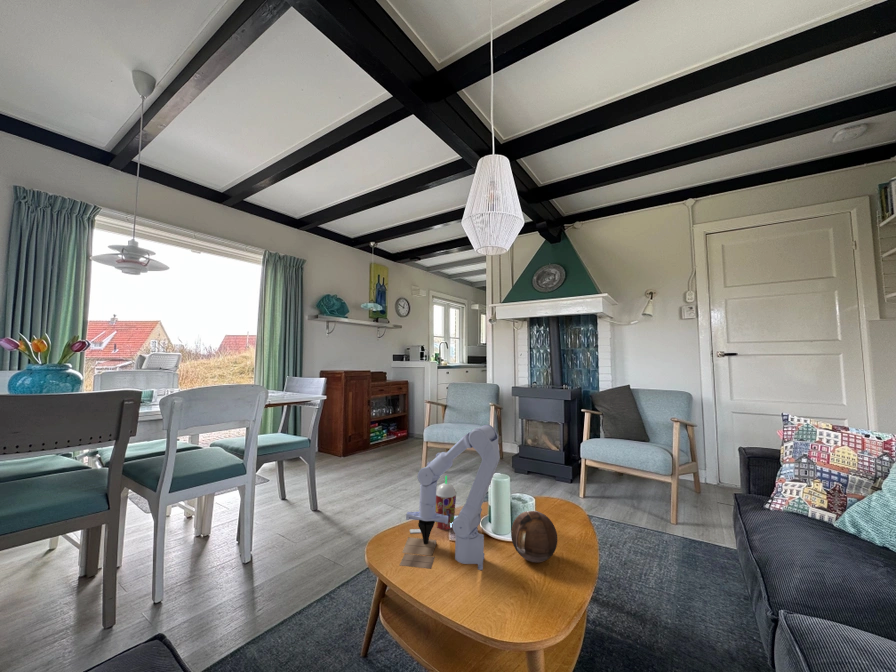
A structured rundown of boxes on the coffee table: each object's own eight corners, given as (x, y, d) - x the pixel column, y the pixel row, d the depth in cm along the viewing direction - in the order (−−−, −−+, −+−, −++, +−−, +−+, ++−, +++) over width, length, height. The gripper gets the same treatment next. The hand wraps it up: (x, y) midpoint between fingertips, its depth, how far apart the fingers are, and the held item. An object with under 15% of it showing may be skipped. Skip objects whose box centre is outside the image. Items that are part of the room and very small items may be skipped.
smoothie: (455, 534, 132) (457, 480, 134) (433, 534, 132) (434, 479, 134) (455, 524, 141) (456, 473, 142) (434, 524, 141) (436, 472, 142)
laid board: (434, 561, 114) (434, 556, 114) (431, 573, 108) (431, 568, 108) (404, 558, 116) (404, 553, 116) (399, 570, 109) (399, 565, 109)
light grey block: (420, 534, 132) (420, 528, 133) (420, 537, 130) (421, 531, 130) (409, 534, 132) (409, 529, 132) (410, 538, 129) (410, 532, 130)
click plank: (436, 543, 123) (436, 539, 123) (432, 559, 115) (432, 555, 115) (408, 540, 124) (408, 537, 124) (402, 556, 116) (402, 552, 116)
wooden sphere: (539, 544, 127) (540, 501, 128) (567, 567, 113) (567, 519, 114) (502, 551, 122) (503, 506, 123) (526, 576, 108) (527, 525, 109)
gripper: (450, 499, 125) (448, 538, 125) (410, 495, 127) (408, 534, 127) (447, 507, 119) (445, 549, 118) (405, 503, 120) (403, 544, 120)
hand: (426, 542), depth 122 cm, fingers closed, pressing on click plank
